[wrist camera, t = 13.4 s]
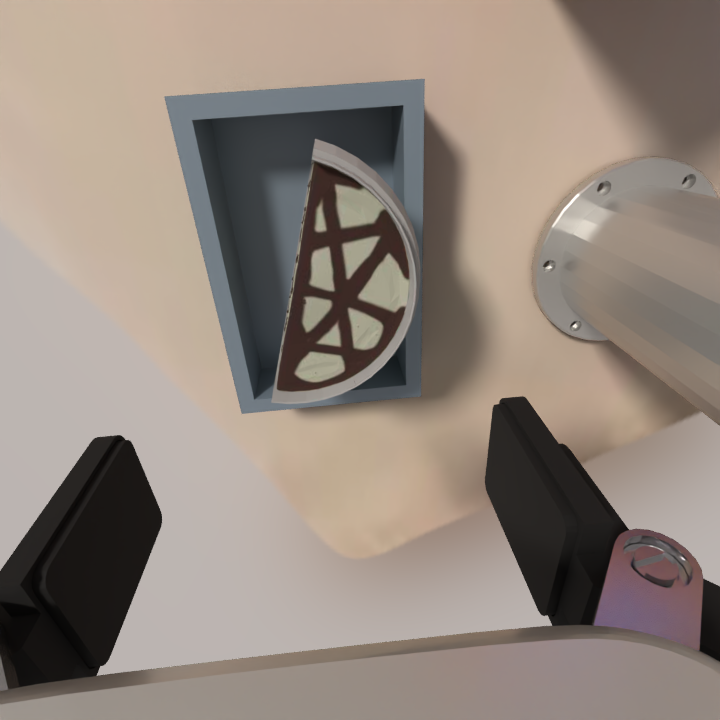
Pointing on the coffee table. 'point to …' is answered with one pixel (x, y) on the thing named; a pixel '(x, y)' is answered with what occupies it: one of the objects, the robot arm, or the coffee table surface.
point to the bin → (290, 209)
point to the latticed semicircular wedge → (346, 281)
